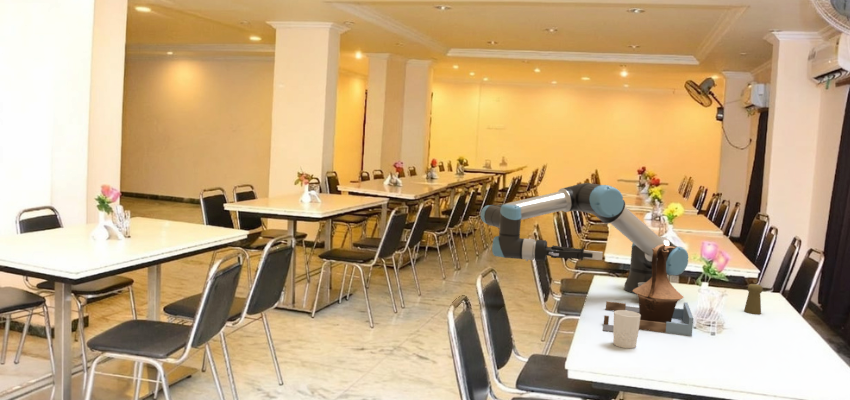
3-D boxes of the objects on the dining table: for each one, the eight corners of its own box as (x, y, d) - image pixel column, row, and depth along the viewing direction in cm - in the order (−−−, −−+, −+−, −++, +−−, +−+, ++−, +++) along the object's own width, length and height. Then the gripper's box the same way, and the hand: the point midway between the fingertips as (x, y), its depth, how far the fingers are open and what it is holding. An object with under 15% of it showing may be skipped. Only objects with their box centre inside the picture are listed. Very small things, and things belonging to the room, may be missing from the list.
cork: (757, 311, 277) (760, 283, 276) (763, 314, 271) (766, 286, 270) (741, 309, 277) (744, 282, 276) (747, 313, 271) (750, 285, 270)
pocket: (665, 332, 235) (667, 315, 235) (662, 316, 259) (663, 299, 258) (691, 336, 233) (693, 318, 232) (685, 318, 256) (687, 302, 256)
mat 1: (602, 330, 233) (602, 330, 233) (603, 325, 240) (603, 324, 240) (634, 334, 230) (634, 334, 230) (634, 328, 238) (634, 328, 238)
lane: (603, 324, 241) (604, 316, 240) (605, 309, 264) (606, 301, 264) (665, 332, 235) (666, 323, 235) (661, 315, 259) (662, 307, 258)
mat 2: (622, 311, 263) (622, 310, 263) (622, 306, 270) (622, 305, 270) (650, 314, 260) (650, 313, 260) (649, 309, 268) (649, 308, 268)
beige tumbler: (623, 350, 212) (626, 317, 211) (605, 342, 219) (608, 310, 218) (643, 347, 216) (646, 315, 215) (625, 340, 223) (627, 309, 222)
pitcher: (672, 332, 236) (680, 249, 233) (622, 322, 246) (629, 242, 243) (686, 323, 250) (694, 244, 248) (638, 313, 260) (645, 238, 257)
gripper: (536, 257, 263) (602, 263, 257) (532, 263, 251) (600, 269, 244) (538, 237, 262) (603, 242, 256) (533, 242, 250) (602, 248, 243)
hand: (602, 255), depth 250 cm, fingers closed
